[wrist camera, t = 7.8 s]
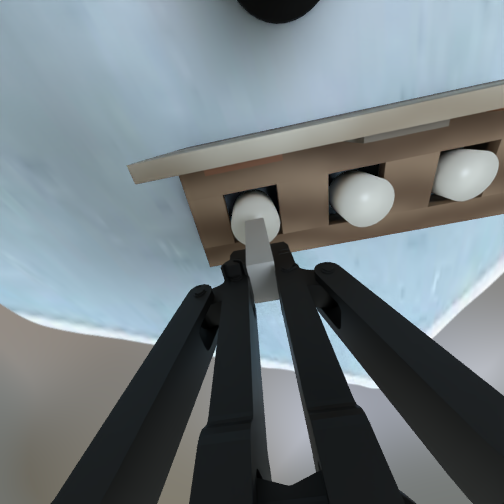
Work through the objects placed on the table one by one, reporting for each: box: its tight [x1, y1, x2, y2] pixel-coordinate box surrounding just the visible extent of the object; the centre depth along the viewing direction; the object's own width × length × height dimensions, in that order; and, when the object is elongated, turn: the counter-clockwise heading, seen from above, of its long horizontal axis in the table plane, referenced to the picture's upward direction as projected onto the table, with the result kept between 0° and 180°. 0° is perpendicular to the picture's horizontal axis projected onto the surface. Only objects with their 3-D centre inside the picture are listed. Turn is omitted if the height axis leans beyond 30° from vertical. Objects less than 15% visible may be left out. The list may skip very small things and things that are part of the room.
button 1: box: [231, 190, 280, 245], centre depth 21 cm, size 4×4×4 cm
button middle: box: [328, 170, 395, 227], centre depth 20 cm, size 4×4×4 cm
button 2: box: [431, 148, 499, 201], centre depth 21 cm, size 4×4×4 cm
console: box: [127, 79, 504, 267], centre depth 19 cm, size 12×32×14 cm, turn 101°
